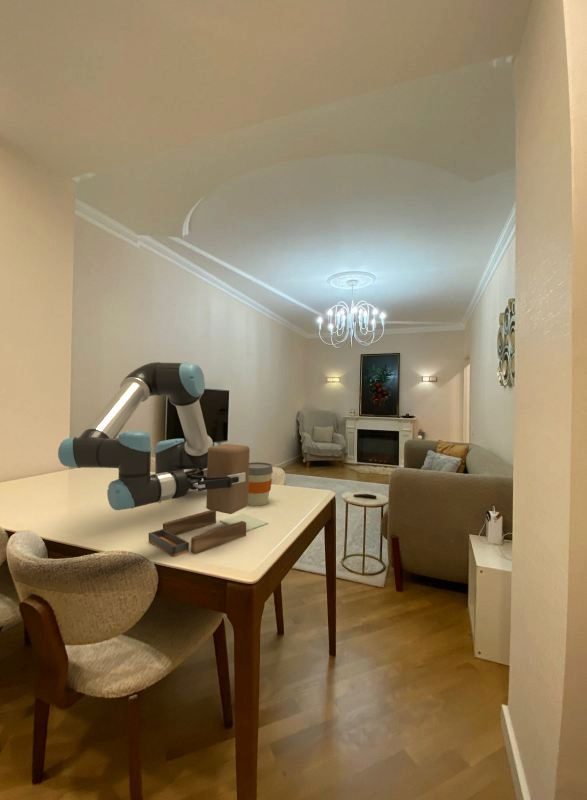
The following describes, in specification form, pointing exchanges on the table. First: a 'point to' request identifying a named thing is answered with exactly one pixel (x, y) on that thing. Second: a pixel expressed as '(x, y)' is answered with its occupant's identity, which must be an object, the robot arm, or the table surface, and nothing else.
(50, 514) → the table surface
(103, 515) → the table surface
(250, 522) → the pad
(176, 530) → the alley
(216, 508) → the block
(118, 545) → the table surface
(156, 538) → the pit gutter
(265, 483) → the reusable coffee cup
